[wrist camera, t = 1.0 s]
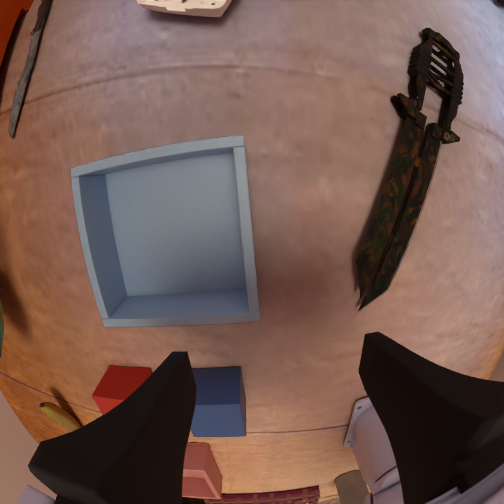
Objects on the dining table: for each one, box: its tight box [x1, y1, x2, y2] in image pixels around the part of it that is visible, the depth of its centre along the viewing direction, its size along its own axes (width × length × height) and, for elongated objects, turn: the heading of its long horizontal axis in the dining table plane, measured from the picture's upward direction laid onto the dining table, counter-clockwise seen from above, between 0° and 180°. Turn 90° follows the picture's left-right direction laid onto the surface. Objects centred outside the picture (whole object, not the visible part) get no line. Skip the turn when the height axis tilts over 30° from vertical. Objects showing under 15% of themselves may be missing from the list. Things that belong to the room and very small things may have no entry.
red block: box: [92, 366, 152, 415], centre depth 20 cm, size 4×4×4 cm
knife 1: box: [9, 0, 51, 138], centre depth 12 cm, size 17×1×3 cm
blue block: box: [191, 367, 246, 437], centre depth 20 cm, size 4×4×4 cm
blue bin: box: [70, 135, 260, 327], centre depth 16 cm, size 10×10×4 cm
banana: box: [40, 402, 81, 433], centre depth 22 cm, size 10×2×4 cm, turn 3°
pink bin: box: [182, 443, 222, 499], centre depth 24 cm, size 10×10×4 cm
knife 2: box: [356, 28, 464, 312], centre depth 16 cm, size 25×6×1 cm, turn 155°
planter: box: [335, 471, 369, 504], centre depth 24 cm, size 4×4×10 cm
